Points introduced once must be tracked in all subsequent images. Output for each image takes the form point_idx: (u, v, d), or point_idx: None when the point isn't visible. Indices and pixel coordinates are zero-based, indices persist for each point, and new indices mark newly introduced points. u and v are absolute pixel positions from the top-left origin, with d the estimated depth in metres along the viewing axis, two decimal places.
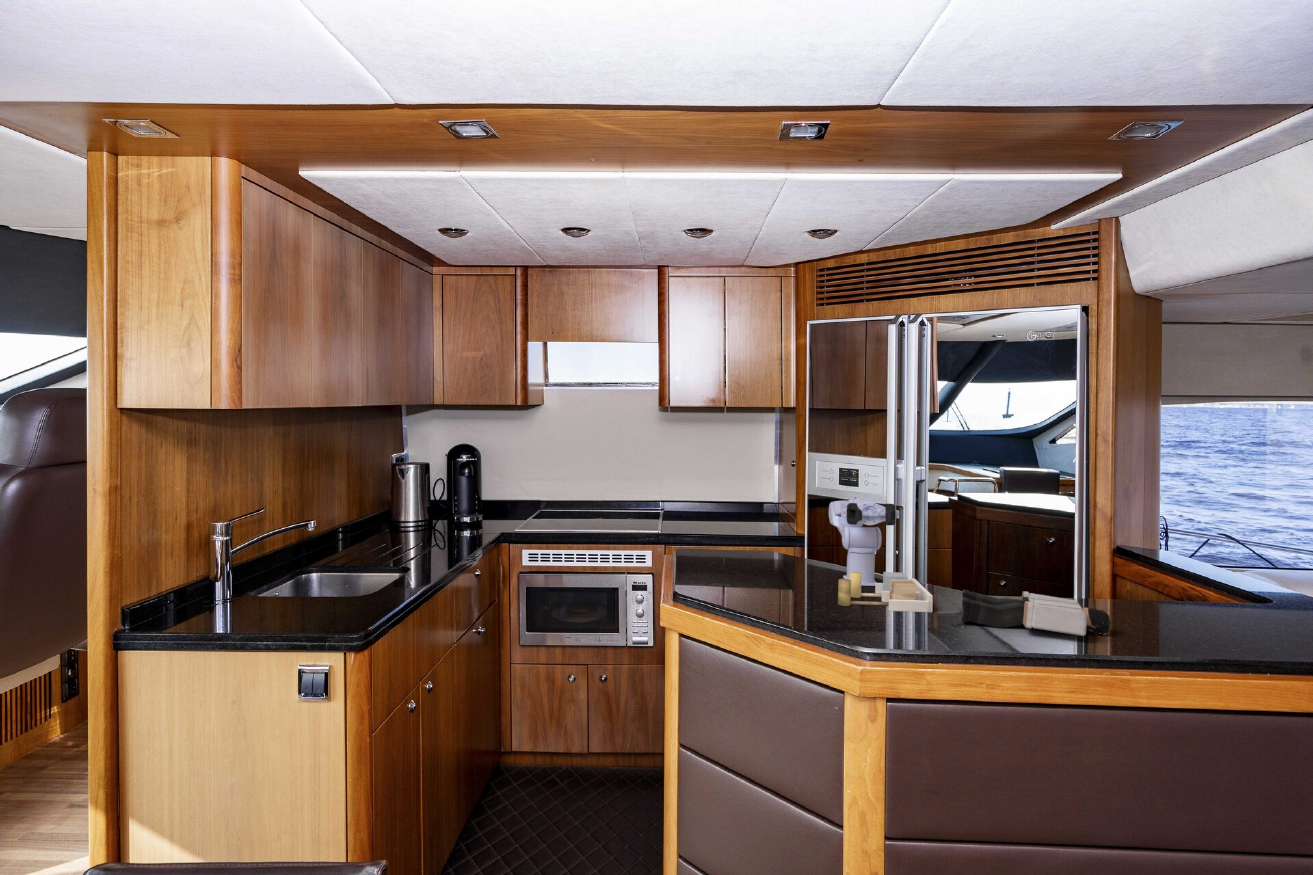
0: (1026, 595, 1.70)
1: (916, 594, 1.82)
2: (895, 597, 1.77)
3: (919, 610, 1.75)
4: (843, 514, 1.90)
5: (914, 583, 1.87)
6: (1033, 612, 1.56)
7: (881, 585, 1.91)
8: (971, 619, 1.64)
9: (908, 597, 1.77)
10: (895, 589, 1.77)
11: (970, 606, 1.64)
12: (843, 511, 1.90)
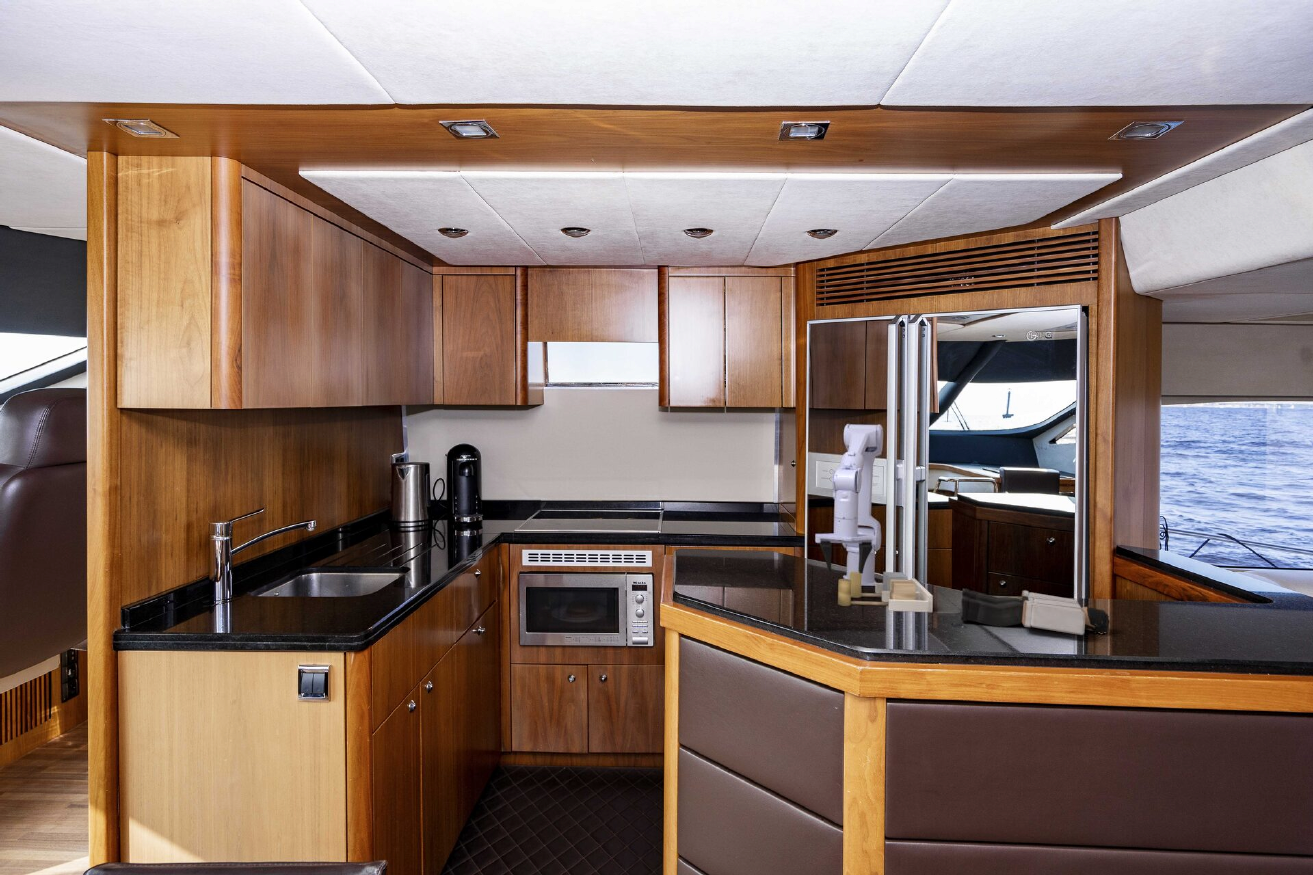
0: (1026, 594, 1.70)
1: (916, 594, 1.82)
2: (895, 597, 1.77)
3: (919, 610, 1.75)
4: None
5: (914, 583, 1.87)
6: (1032, 611, 1.57)
7: (881, 585, 1.91)
8: (970, 618, 1.65)
9: (908, 597, 1.77)
10: (895, 589, 1.77)
11: (969, 605, 1.65)
12: None
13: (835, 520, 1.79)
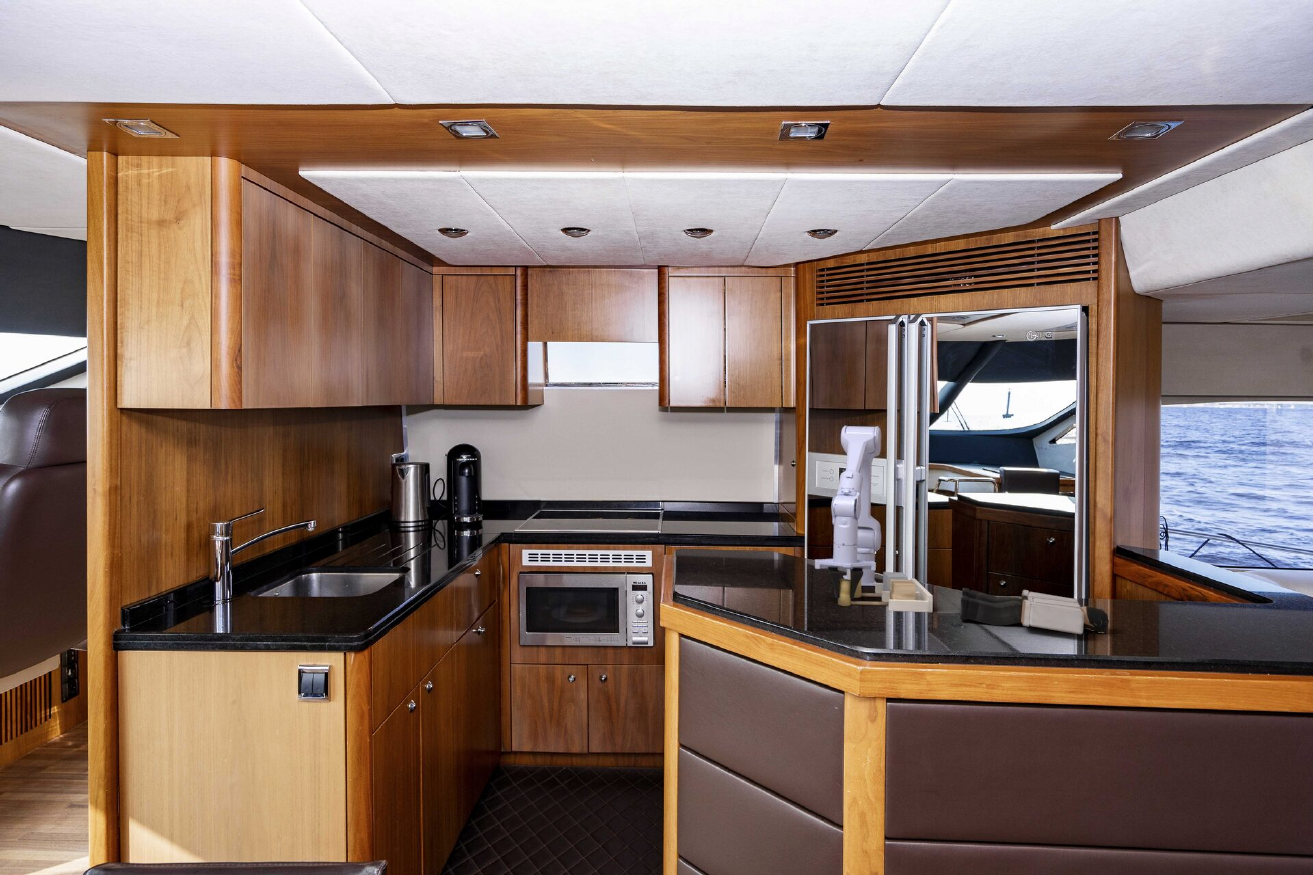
0: (1025, 594, 1.71)
1: (916, 594, 1.82)
2: (895, 597, 1.77)
3: (919, 610, 1.75)
4: None
5: (914, 583, 1.87)
6: (1031, 610, 1.58)
7: (881, 585, 1.91)
8: (970, 617, 1.65)
9: (908, 597, 1.77)
10: (895, 589, 1.77)
11: (969, 604, 1.66)
12: None
13: (834, 546, 1.79)
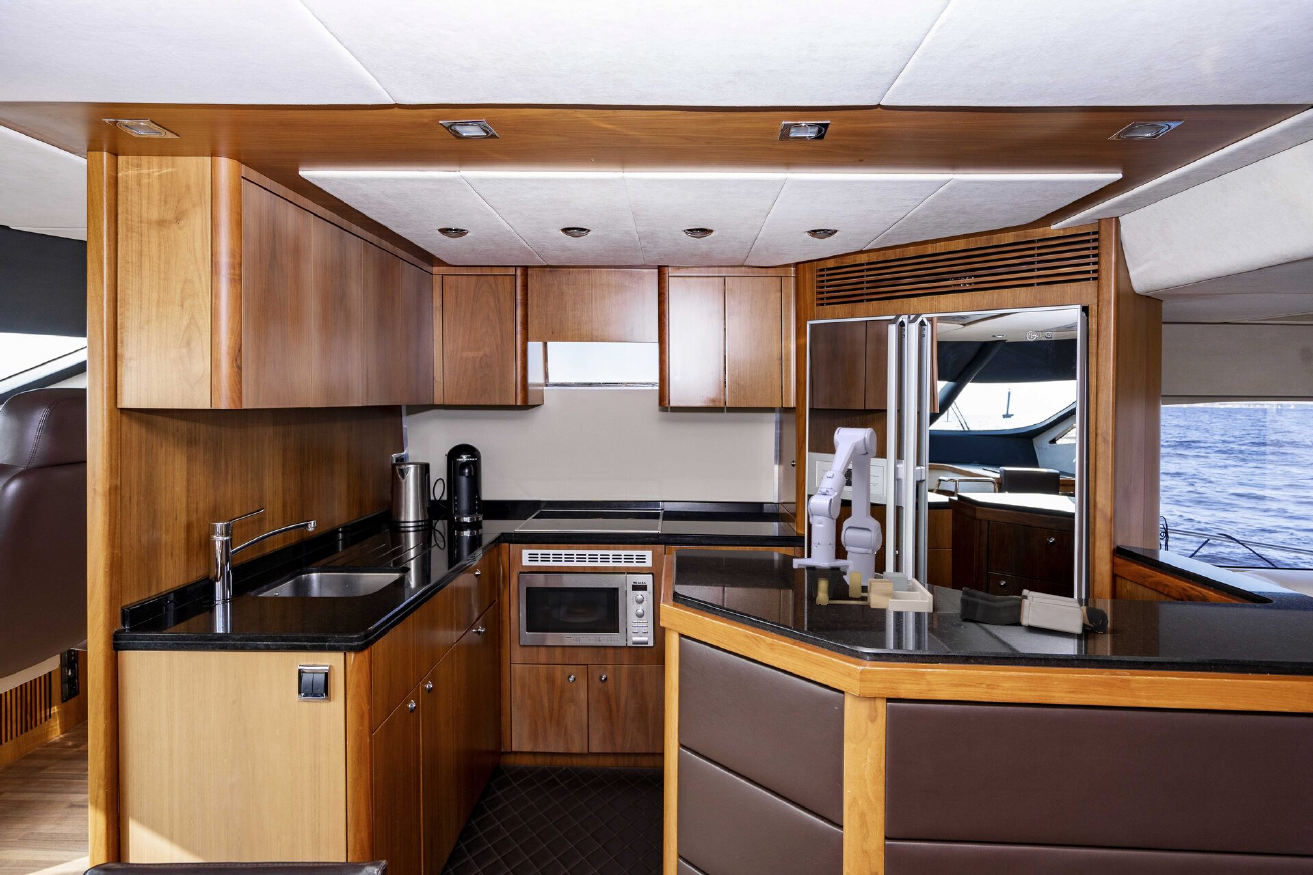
0: (1025, 593, 1.71)
1: (916, 594, 1.82)
2: (872, 596, 1.78)
3: (919, 610, 1.75)
4: None
5: (914, 583, 1.87)
6: (1030, 610, 1.58)
7: None
8: (969, 616, 1.66)
9: (885, 596, 1.77)
10: (872, 588, 1.78)
11: (968, 603, 1.66)
12: None
13: (812, 545, 1.80)
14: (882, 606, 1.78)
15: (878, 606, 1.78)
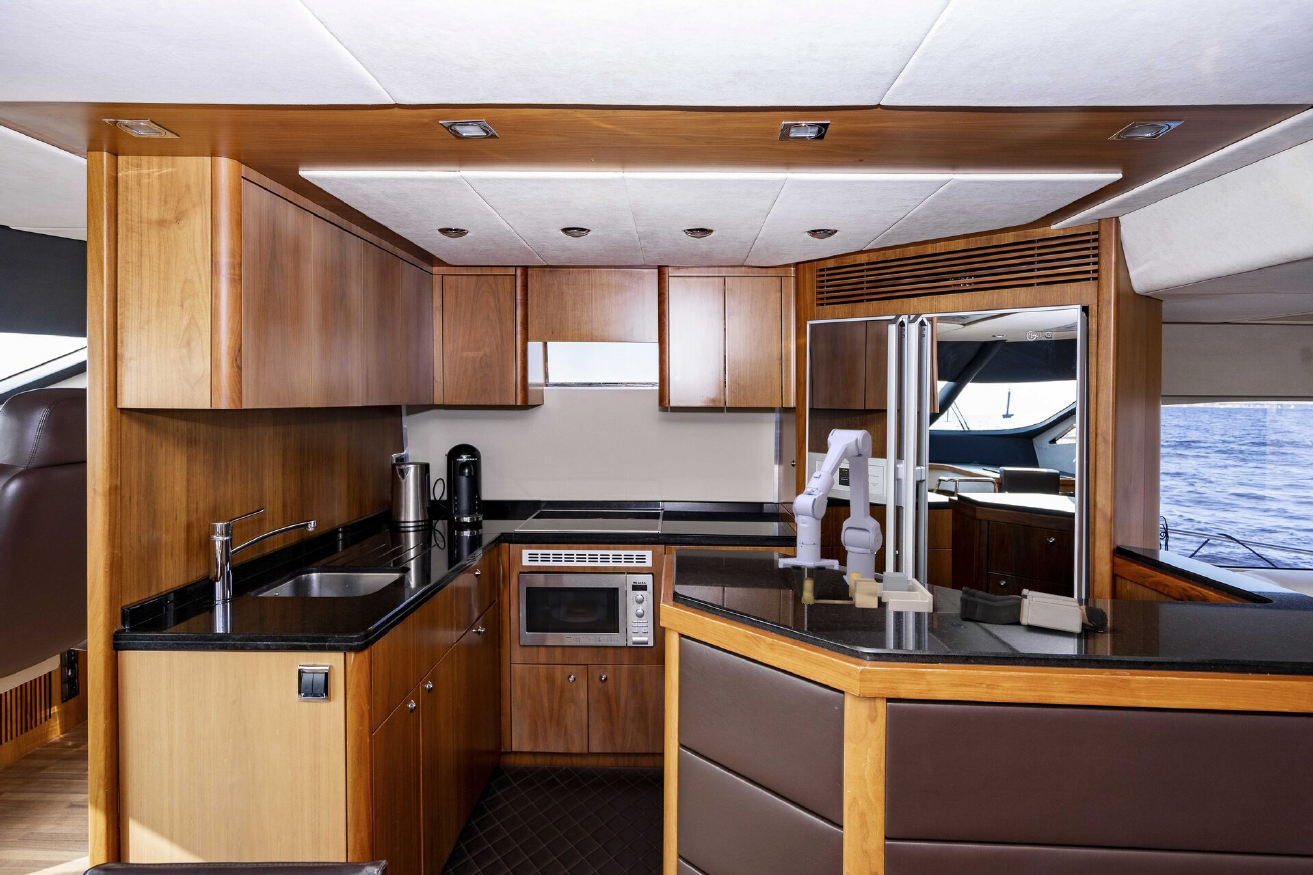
0: (1025, 593, 1.72)
1: (916, 594, 1.82)
2: (857, 596, 1.78)
3: (919, 610, 1.75)
4: None
5: (914, 583, 1.87)
6: (1029, 609, 1.59)
7: (881, 585, 1.91)
8: (969, 615, 1.67)
9: (870, 596, 1.78)
10: (857, 588, 1.78)
11: (968, 603, 1.67)
12: None
13: (798, 545, 1.80)
14: (867, 605, 1.78)
15: (863, 605, 1.78)
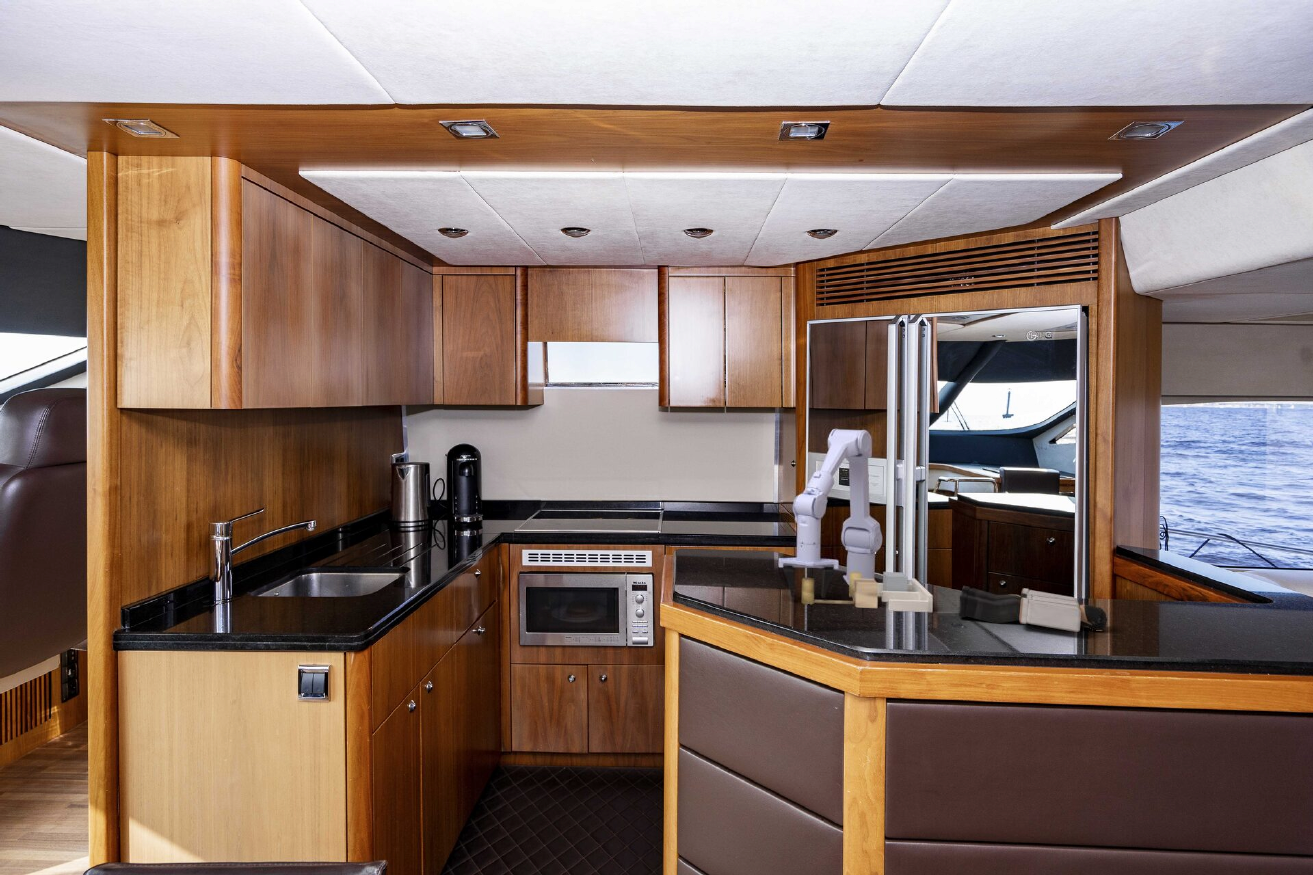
0: (1025, 592, 1.73)
1: (916, 594, 1.82)
2: (857, 596, 1.78)
3: (919, 610, 1.75)
4: None
5: (914, 583, 1.87)
6: (1028, 608, 1.59)
7: (881, 585, 1.91)
8: (968, 614, 1.67)
9: (870, 596, 1.78)
10: (857, 588, 1.78)
11: (967, 602, 1.68)
12: None
13: (798, 545, 1.80)
14: (867, 606, 1.78)
15: (863, 606, 1.78)
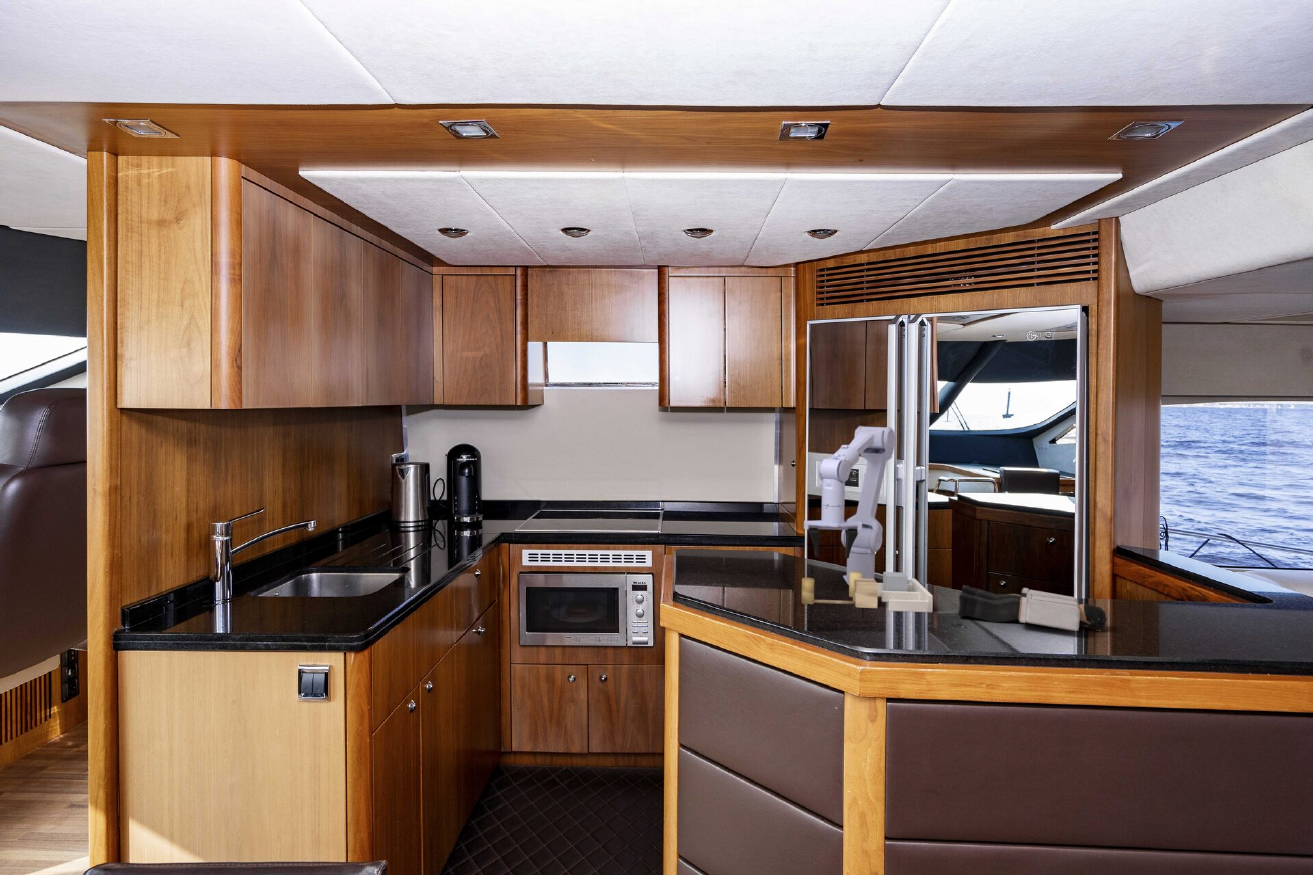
0: (1025, 591, 1.73)
1: (916, 594, 1.82)
2: (857, 596, 1.78)
3: (919, 610, 1.75)
4: None
5: (914, 583, 1.87)
6: (1027, 607, 1.60)
7: (881, 585, 1.91)
8: (968, 613, 1.68)
9: (870, 596, 1.78)
10: (857, 588, 1.78)
11: (967, 601, 1.68)
12: None
13: (822, 507, 1.88)
14: (867, 606, 1.78)
15: (863, 606, 1.78)
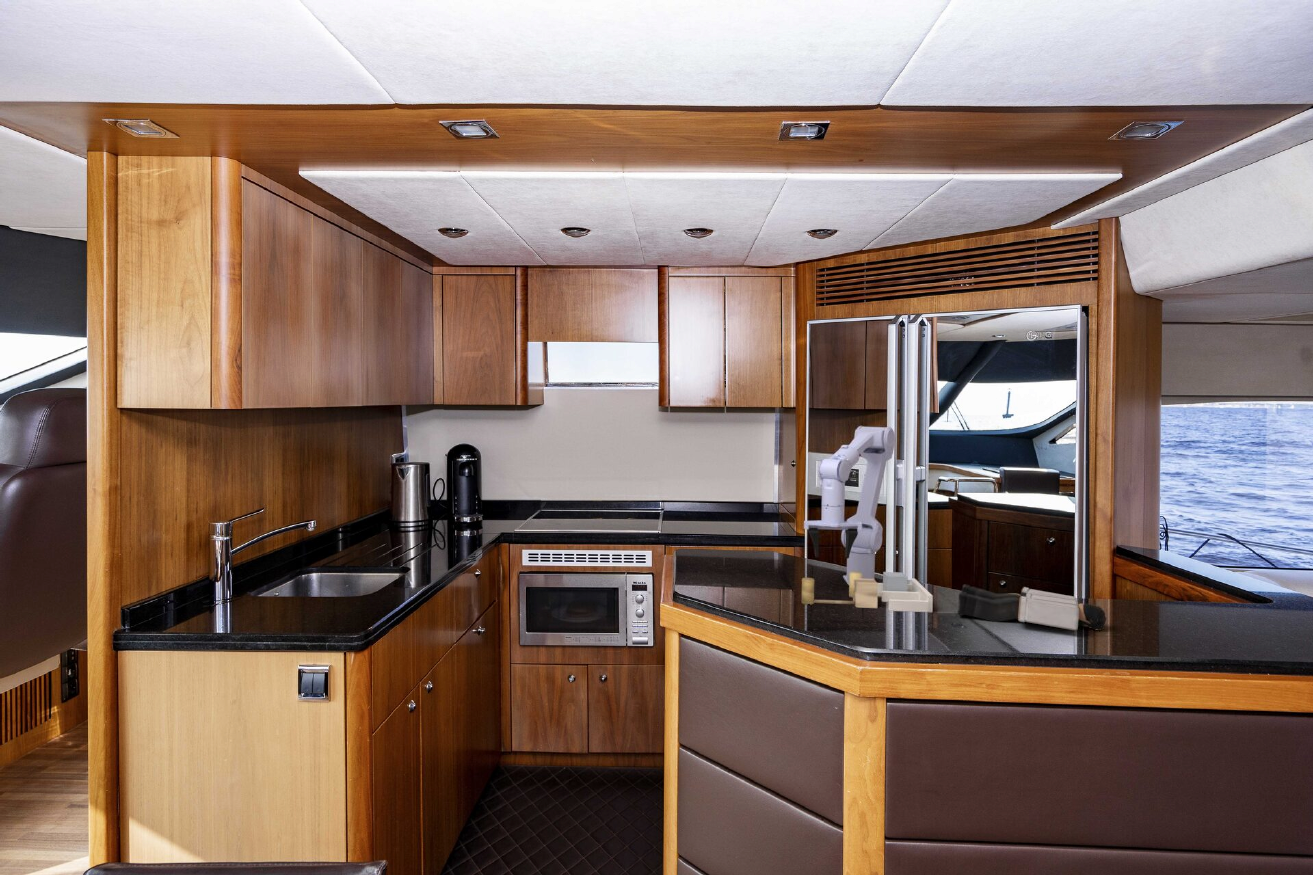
0: (1025, 591, 1.74)
1: (916, 594, 1.82)
2: (857, 596, 1.78)
3: (919, 610, 1.75)
4: None
5: (914, 583, 1.87)
6: (1026, 606, 1.61)
7: (881, 585, 1.91)
8: (967, 612, 1.69)
9: (870, 596, 1.78)
10: (857, 588, 1.78)
11: (966, 600, 1.69)
12: None
13: (822, 507, 1.88)
14: (867, 606, 1.78)
15: (863, 606, 1.78)
